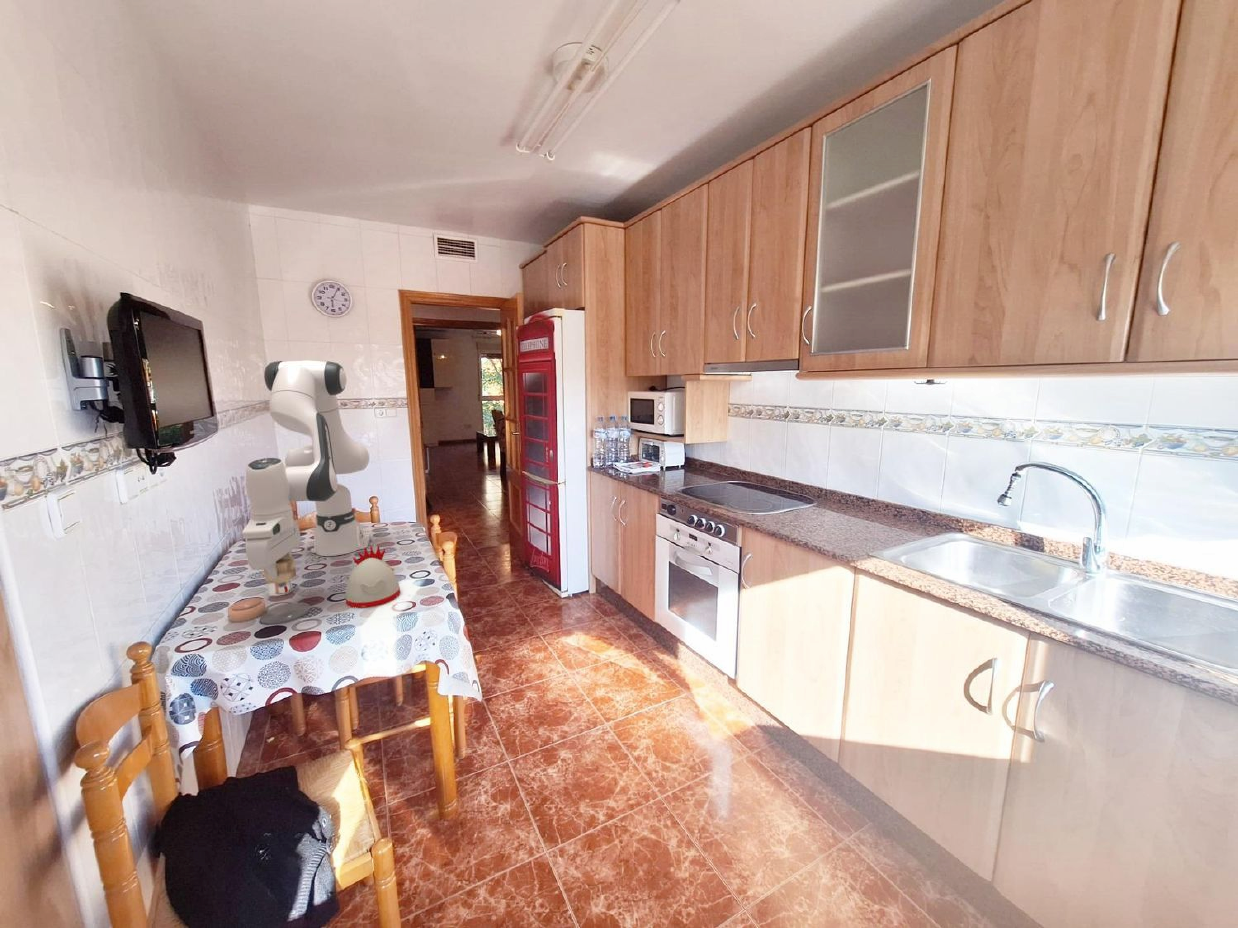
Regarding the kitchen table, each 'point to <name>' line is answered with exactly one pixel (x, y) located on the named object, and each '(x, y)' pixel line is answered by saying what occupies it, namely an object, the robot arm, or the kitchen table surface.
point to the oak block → (282, 571)
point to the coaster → (285, 613)
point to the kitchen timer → (371, 581)
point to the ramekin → (246, 610)
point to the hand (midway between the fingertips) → (280, 573)
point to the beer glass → (280, 588)
